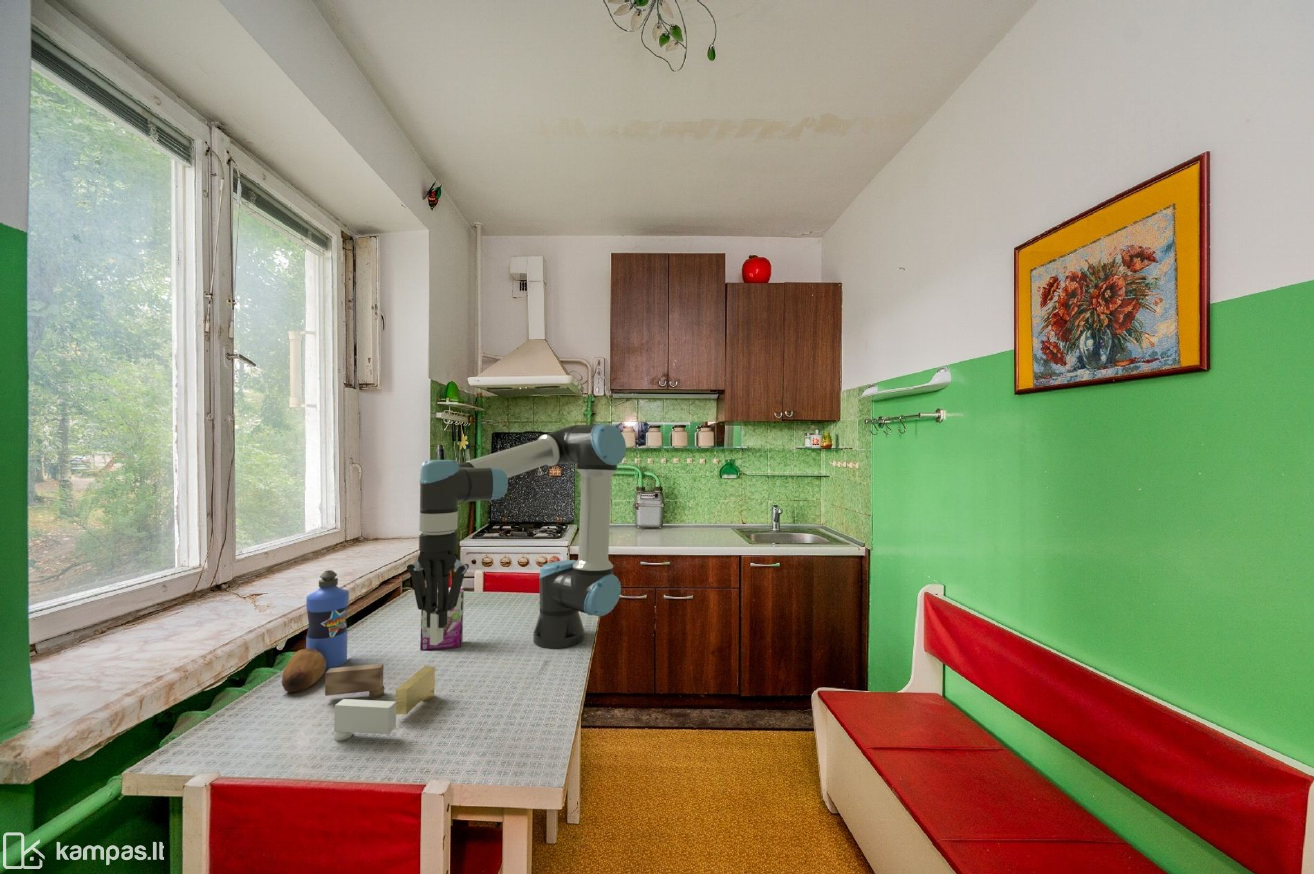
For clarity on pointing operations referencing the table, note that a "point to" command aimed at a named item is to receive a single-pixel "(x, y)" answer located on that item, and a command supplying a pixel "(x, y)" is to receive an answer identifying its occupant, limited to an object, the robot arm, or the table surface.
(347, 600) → the water bottle
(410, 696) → the lever
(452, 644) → the candy bar box
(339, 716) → the light grey boxy piece
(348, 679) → the lever
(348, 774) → the table surface
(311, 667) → the potato
